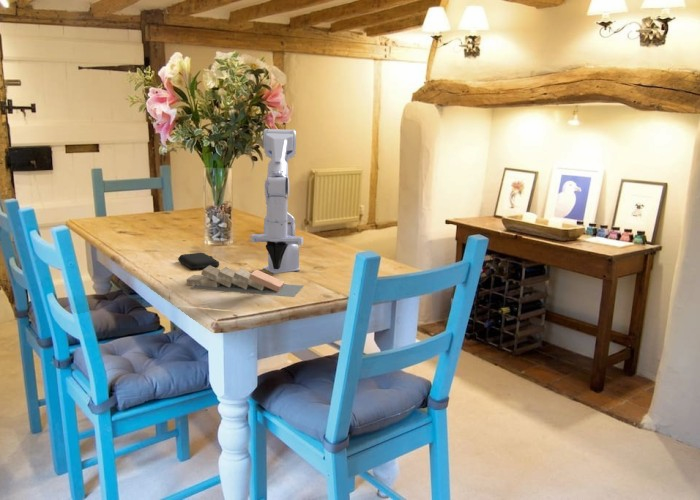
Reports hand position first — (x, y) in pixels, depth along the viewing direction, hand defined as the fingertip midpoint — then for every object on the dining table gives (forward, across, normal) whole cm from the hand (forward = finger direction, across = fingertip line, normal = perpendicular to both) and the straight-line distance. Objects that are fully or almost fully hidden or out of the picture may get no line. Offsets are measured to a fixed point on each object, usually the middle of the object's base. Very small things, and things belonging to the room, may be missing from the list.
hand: (276, 268), depth 163 cm
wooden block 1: (+5, -8, 0) cm, 10 cm away
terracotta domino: (+5, +1, 0) cm, 5 cm away
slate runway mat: (+6, -8, 0) cm, 11 cm away
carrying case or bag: (+7, -32, +20) cm, 39 cm away
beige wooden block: (+5, -17, 0) cm, 18 cm away
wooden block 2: (+5, -3, 0) cm, 6 cm away
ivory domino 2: (+5, -13, 0) cm, 14 cm away
